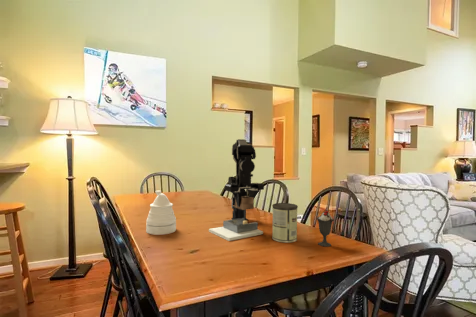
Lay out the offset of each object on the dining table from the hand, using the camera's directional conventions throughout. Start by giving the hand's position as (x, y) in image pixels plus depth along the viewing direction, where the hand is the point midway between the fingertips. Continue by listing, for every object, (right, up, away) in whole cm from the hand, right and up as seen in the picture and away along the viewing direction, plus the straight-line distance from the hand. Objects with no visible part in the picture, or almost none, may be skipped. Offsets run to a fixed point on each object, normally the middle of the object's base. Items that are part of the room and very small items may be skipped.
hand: (244, 205), depth 127 cm
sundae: (+31, -12, -19) cm, 38 cm away
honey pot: (-37, -11, -3) cm, 39 cm away
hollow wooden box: (0, -1, 0) cm, 1 cm away
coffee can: (+16, -12, -12) cm, 23 cm away
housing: (-2, -10, -2) cm, 10 cm away
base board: (-4, -11, -4) cm, 13 cm away
